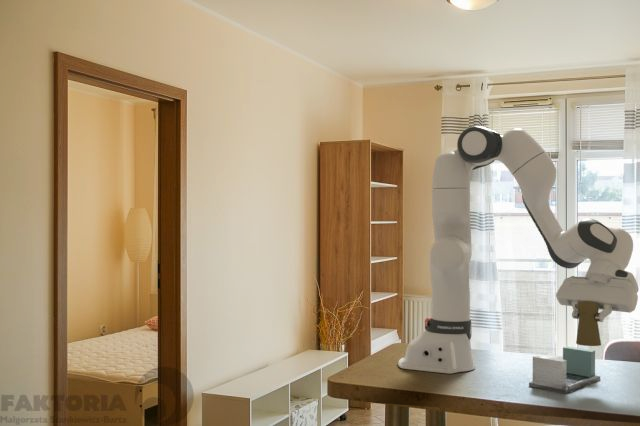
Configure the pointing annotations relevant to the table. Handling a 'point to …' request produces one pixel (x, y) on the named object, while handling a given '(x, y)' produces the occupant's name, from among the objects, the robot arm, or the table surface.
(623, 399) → the table surface
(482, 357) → the table surface
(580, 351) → the block
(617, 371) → the table surface
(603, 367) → the table surface
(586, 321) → the cork
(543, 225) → the robot arm
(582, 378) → the vise base
